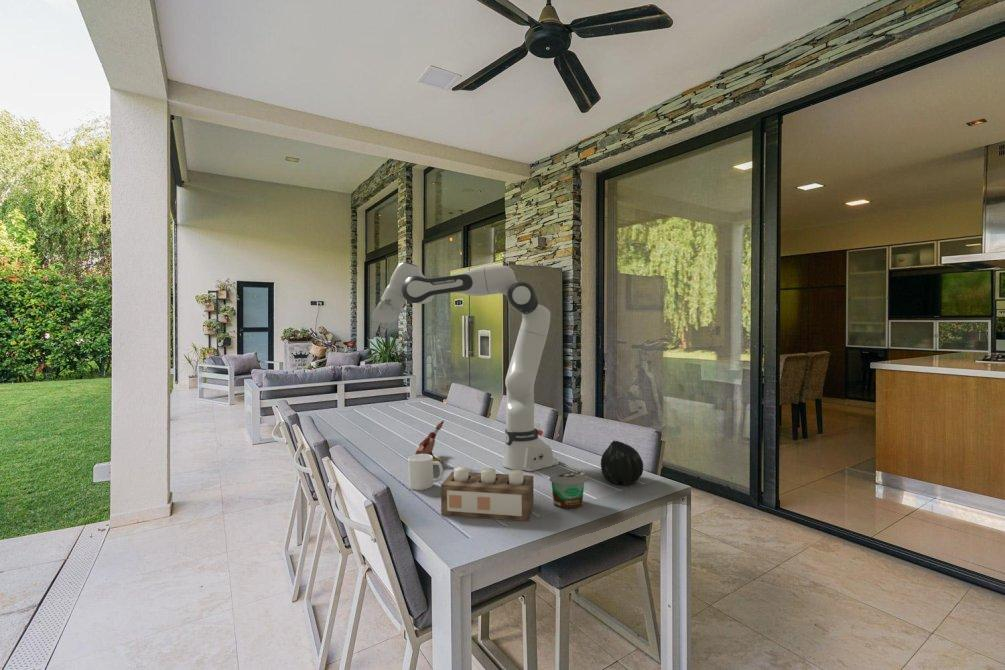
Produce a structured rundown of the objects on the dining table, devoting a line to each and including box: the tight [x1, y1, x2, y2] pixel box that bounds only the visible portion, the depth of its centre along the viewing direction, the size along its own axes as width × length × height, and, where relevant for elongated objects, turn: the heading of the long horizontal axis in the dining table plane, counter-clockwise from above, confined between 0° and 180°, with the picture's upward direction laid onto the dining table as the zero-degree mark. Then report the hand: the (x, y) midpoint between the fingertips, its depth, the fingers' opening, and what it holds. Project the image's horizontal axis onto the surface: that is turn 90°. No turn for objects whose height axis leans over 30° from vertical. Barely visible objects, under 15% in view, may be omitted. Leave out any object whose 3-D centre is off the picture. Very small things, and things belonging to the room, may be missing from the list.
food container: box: [548, 468, 587, 510], centre depth 141 cm, size 12×6×10 cm, turn 114°
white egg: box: [453, 466, 469, 482], centre depth 141 cm, size 4×4×5 cm
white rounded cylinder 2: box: [508, 469, 525, 485], centre depth 137 cm, size 4×4×5 cm
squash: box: [600, 440, 644, 486], centre depth 163 cm, size 14×15×15 cm
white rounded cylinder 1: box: [480, 467, 497, 484], centre depth 139 cm, size 4×4×5 cm
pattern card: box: [447, 490, 522, 516], centre depth 133 cm, size 22×1×6 cm, turn 80°
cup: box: [407, 453, 444, 491], centre depth 159 cm, size 8×12×10 cm
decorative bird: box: [414, 420, 445, 464], centre depth 184 cm, size 28×18×15 cm, turn 179°
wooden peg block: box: [440, 470, 535, 522], centre depth 139 cm, size 26×12×9 cm, turn 80°
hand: (378, 331), depth 182 cm, fingers open, 8 cm apart
